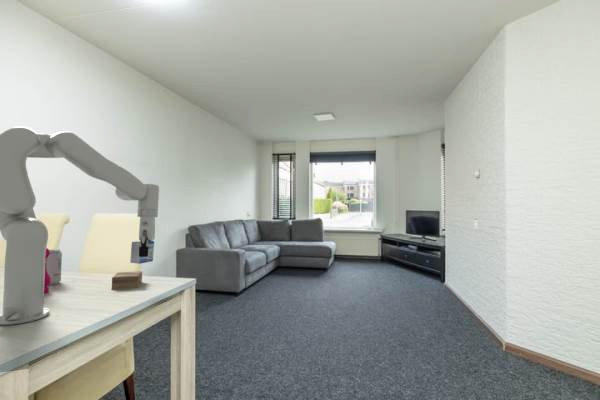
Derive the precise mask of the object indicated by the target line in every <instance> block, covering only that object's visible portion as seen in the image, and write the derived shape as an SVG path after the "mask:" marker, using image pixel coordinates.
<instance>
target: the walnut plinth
mask: <svg viewBox="0 0 600 400" xmlns="http://www.w3.org/2000/svg"><path fill="white" fill-rule="evenodd" d="M142 282H143V271H141V270H140V271H120V272H119V271H118V272H117V273H116V274H115V275H113V276H112V278H111V290H112V291H113V290H128V289H139V287H140V286H141V284H142Z"/></svg>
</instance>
